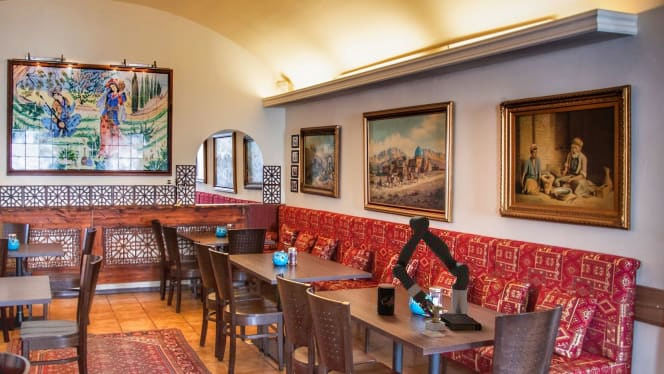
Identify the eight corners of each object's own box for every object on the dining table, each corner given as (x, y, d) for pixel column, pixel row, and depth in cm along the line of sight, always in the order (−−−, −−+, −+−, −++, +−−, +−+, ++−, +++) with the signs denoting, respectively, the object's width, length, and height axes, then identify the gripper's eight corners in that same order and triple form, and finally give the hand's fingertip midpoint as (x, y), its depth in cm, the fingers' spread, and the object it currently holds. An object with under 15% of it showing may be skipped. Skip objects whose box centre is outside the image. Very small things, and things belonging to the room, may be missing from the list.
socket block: (437, 326, 398) (437, 319, 397) (444, 330, 390) (445, 323, 390) (425, 327, 394) (425, 320, 394) (432, 331, 387) (432, 324, 387)
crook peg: (430, 329, 391) (431, 306, 391) (432, 327, 395) (433, 305, 394) (442, 330, 389) (443, 307, 388) (444, 329, 392) (444, 306, 392)
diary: (466, 321, 416) (466, 313, 416) (481, 331, 391) (482, 323, 391) (436, 321, 413) (437, 313, 413) (450, 331, 388) (450, 323, 388)
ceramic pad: (436, 332, 384) (436, 331, 384) (445, 336, 376) (445, 335, 376) (422, 333, 381) (422, 332, 381) (431, 337, 372) (431, 336, 372)
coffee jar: (380, 316, 421) (381, 286, 420) (374, 312, 431) (375, 283, 430) (396, 315, 423) (397, 286, 423) (390, 311, 434) (391, 283, 433)
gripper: (417, 291, 389) (436, 313, 384) (425, 287, 401) (443, 309, 397) (408, 299, 391) (427, 322, 387) (416, 295, 404) (434, 317, 400)
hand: (435, 315), depth 392 cm, fingers open, 8 cm apart
